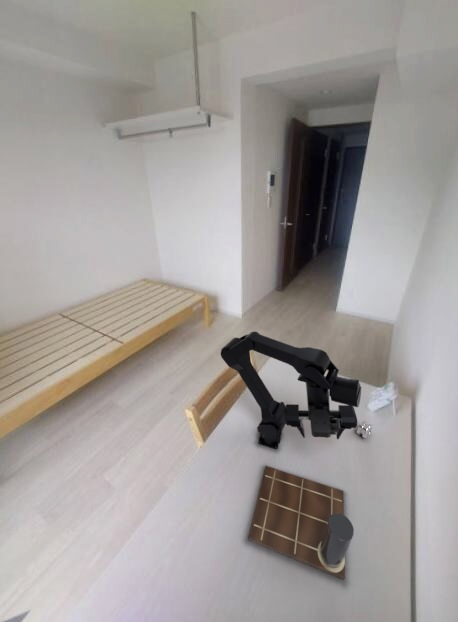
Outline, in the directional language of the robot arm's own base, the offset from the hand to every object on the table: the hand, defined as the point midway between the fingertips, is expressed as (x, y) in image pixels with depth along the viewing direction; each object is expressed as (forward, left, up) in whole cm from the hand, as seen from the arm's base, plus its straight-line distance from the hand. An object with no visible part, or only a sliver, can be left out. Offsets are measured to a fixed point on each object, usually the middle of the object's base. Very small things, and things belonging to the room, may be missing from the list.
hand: (320, 437), depth 78 cm
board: (-3, -16, -12) cm, 21 cm away
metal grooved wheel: (+15, +16, -12) cm, 25 cm away
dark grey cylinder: (+5, -23, -10) cm, 25 cm away
